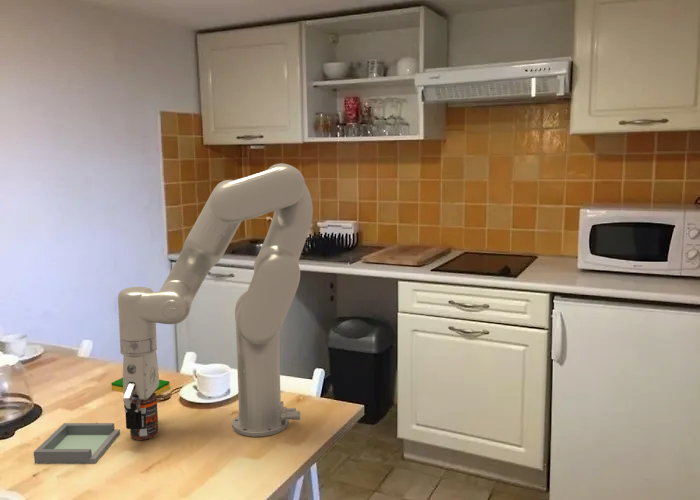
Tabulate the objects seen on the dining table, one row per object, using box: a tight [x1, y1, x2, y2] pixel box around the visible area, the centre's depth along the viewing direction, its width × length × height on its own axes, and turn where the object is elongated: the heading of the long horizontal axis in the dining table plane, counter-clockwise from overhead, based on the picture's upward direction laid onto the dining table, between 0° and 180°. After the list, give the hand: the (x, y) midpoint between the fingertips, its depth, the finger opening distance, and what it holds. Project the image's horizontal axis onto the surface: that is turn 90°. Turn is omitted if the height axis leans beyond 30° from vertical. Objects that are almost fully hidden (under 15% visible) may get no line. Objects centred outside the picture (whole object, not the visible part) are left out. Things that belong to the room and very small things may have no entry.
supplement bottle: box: [129, 394, 159, 441], centre depth 140 cm, size 6×6×11 cm
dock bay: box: [33, 422, 121, 464], centre depth 135 cm, size 12×13×2 cm
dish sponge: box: [110, 377, 171, 397], centre depth 167 cm, size 7×14×2 cm, turn 66°
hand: (141, 418), depth 140 cm, fingers open, 9 cm apart
